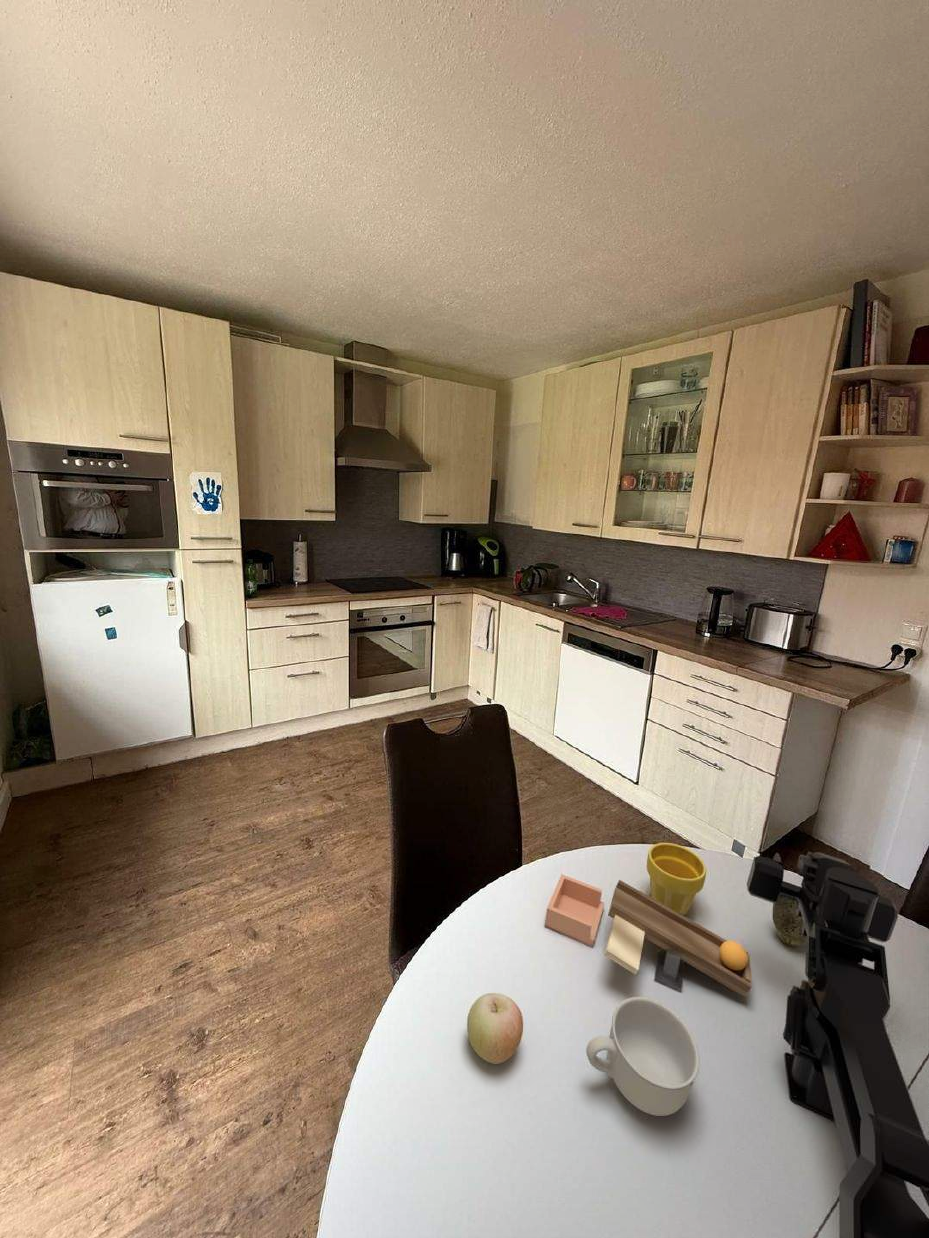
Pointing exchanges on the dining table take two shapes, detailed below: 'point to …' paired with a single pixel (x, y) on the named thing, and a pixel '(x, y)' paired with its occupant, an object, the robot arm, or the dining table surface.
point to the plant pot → (675, 875)
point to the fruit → (495, 1027)
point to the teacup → (648, 1056)
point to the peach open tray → (575, 910)
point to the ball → (733, 955)
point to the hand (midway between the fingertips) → (807, 865)
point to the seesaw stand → (669, 969)
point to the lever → (666, 937)
